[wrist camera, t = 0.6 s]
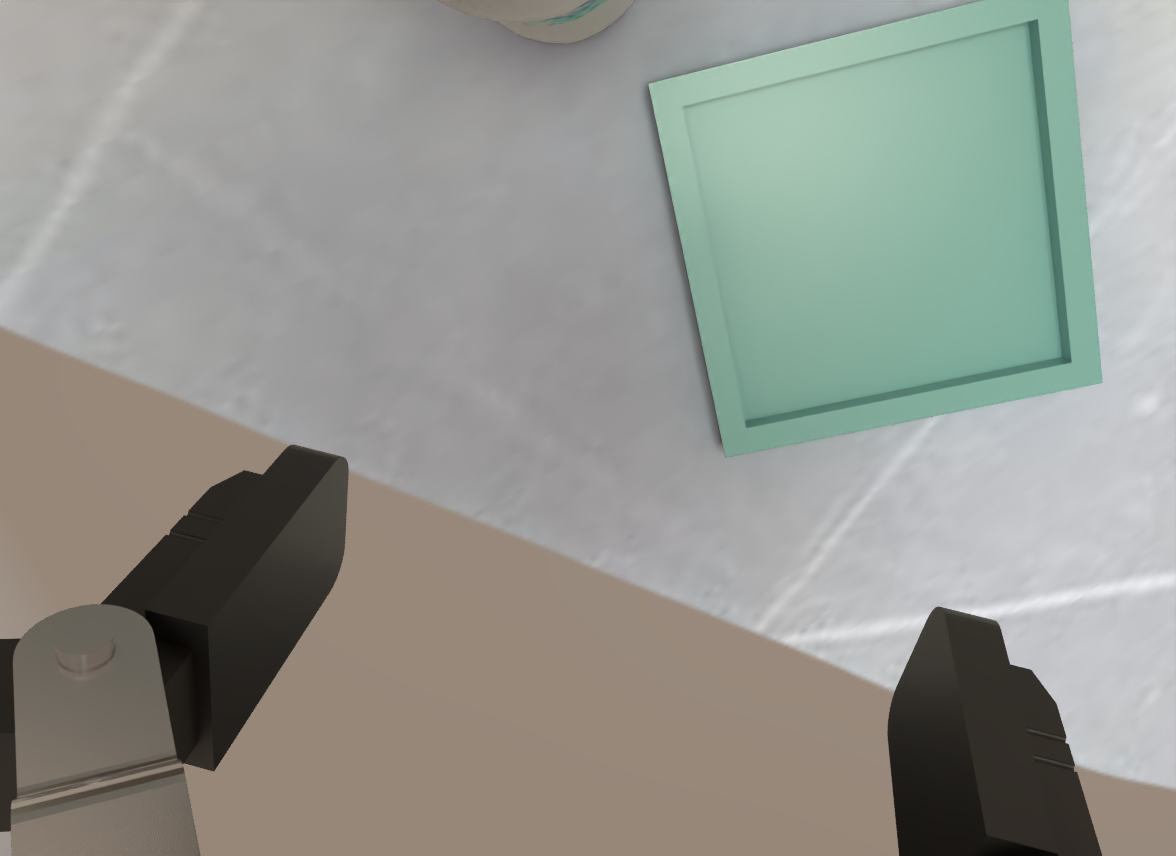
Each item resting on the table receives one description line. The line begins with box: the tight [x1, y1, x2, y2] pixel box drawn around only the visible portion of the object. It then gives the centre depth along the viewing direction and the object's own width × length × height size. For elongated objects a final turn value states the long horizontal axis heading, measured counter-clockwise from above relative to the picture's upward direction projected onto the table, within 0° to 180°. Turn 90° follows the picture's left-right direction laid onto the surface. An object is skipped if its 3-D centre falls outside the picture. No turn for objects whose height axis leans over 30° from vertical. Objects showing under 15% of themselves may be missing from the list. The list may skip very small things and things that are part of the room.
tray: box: [648, 0, 1102, 458], centre depth 36 cm, size 14×14×2 cm
